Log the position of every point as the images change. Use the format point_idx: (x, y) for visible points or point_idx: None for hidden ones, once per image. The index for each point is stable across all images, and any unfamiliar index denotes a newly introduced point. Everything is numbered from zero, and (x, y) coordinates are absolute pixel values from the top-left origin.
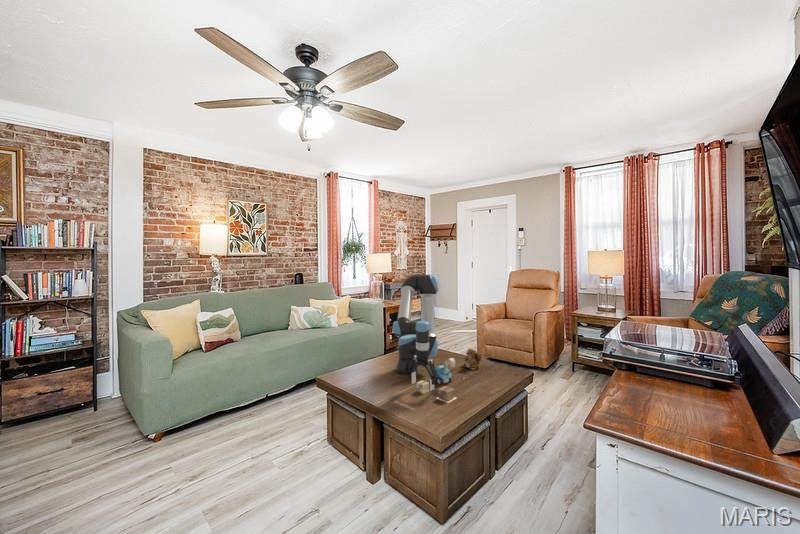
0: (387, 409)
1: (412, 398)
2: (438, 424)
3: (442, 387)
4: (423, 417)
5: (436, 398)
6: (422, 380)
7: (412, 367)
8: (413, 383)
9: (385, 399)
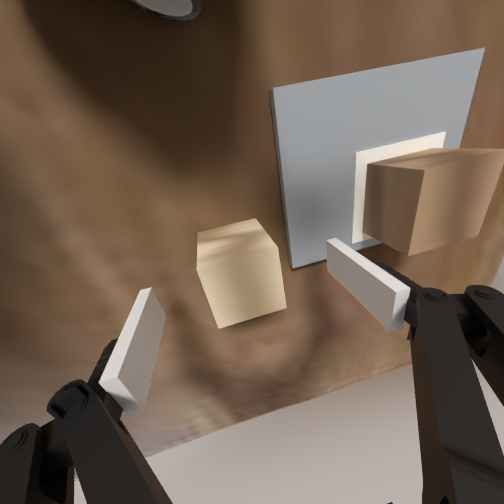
0: (271, 407)
1: (255, 321)
2: None
3: (419, 214)
4: (387, 342)
5: (354, 242)
6: (201, 270)
7: (37, 471)
8: (162, 312)
9: (197, 403)
